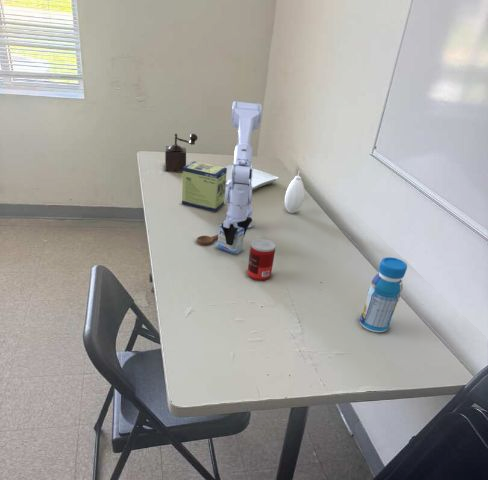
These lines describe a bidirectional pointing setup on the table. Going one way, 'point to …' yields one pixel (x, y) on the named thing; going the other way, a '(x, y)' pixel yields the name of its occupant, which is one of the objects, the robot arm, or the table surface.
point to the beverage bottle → (383, 295)
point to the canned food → (261, 259)
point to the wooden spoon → (206, 240)
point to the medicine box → (236, 244)
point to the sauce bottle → (294, 195)
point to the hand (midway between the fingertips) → (235, 240)
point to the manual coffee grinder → (177, 155)
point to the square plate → (254, 177)
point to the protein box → (204, 186)
